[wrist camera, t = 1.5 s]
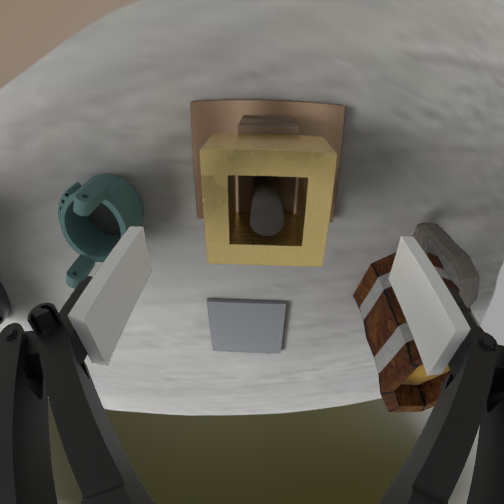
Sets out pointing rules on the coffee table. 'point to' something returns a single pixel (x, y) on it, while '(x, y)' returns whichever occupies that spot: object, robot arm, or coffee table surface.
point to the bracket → (84, 231)
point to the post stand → (265, 122)
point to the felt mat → (246, 325)
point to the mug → (397, 329)
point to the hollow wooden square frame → (238, 223)
